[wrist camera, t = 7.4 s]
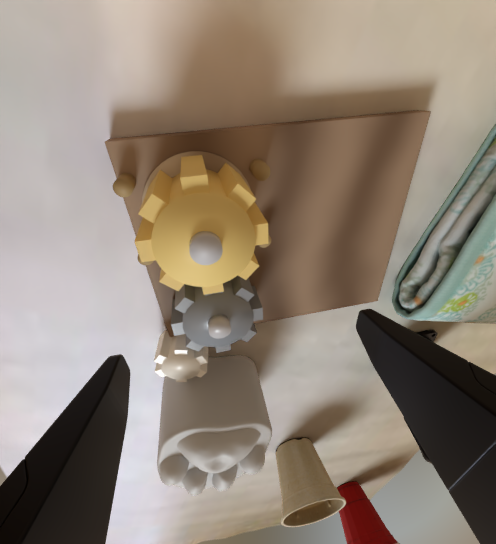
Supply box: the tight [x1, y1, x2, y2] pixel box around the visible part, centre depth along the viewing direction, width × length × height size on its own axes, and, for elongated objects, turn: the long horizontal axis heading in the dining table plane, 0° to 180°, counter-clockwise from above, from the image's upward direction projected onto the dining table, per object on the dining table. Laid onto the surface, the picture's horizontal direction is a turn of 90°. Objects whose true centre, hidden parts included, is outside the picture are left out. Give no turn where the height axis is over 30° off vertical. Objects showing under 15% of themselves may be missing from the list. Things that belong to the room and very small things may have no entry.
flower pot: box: [276, 438, 346, 527], centre depth 40 cm, size 9×9×9 cm
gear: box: [171, 275, 263, 353], centre depth 21 cm, size 7×7×4 cm
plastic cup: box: [337, 482, 400, 544], centre depth 57 cm, size 11×11×12 cm
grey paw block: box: [157, 355, 272, 496], centre depth 28 cm, size 10×13×9 cm
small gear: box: [154, 331, 208, 382], centre depth 24 cm, size 4×4×3 cm
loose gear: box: [135, 155, 268, 295], centre depth 15 cm, size 7×7×6 cm
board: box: [105, 110, 431, 337], centre depth 20 cm, size 20×16×3 cm
